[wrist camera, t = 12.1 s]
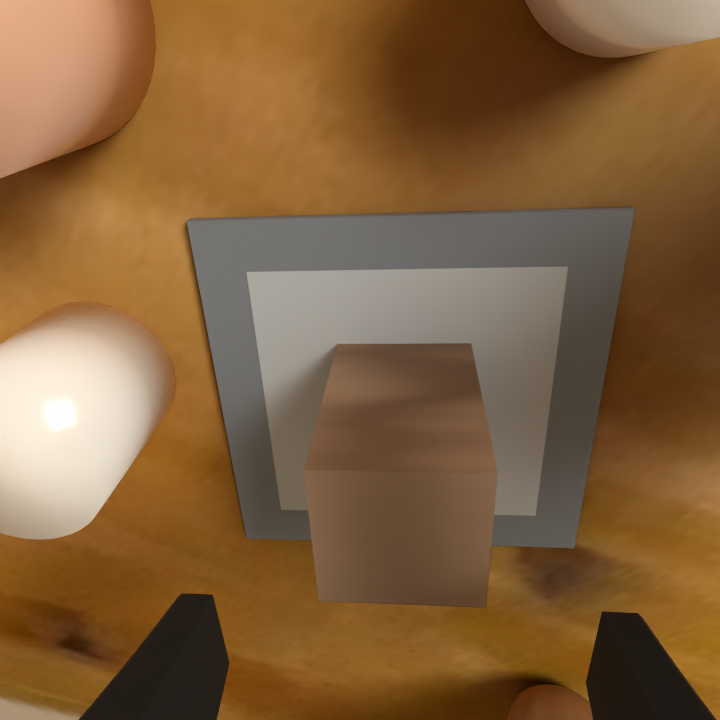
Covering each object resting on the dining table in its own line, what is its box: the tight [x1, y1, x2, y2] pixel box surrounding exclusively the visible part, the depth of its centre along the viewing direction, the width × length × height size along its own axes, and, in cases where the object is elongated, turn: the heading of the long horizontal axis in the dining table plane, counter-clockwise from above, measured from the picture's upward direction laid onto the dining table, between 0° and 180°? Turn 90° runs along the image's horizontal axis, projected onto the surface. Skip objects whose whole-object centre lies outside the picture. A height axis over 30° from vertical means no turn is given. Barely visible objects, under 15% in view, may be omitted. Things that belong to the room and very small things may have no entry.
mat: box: [187, 207, 635, 548], centre depth 18 cm, size 12×12×1 cm
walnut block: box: [303, 343, 498, 608], centre depth 15 cm, size 4×4×6 cm
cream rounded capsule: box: [0, 302, 176, 540], centre depth 17 cm, size 5×5×5 cm
